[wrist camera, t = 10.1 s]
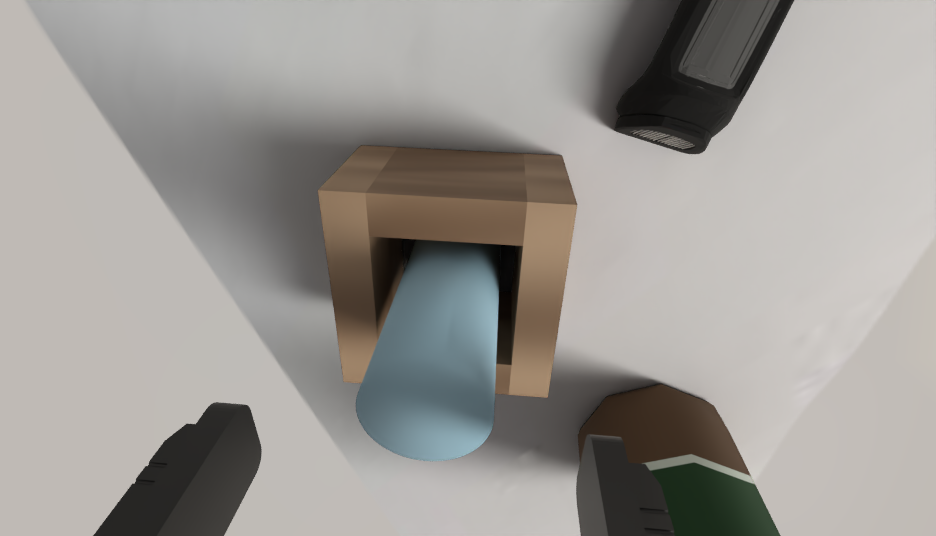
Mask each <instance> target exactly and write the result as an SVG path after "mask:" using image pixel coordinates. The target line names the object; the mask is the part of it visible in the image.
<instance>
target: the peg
mask: <svg viewBox="0 0 936 536" xmlns="http://www.w3.org/2000/svg"><path fill="white" fill-rule="evenodd" d="M500 255H501V245H500V244H484V243H468V242H451V241H435V240H418V239H416V242H415V244H414V247H413V249H412V252H411V255H410V257H409V260H408V263H407V265H406V268H405V271H404V273H403V276H402V278H401V281H400V284H399V286H398V289H397V292H396V294H395V297H394V299H393V302H392V305H391V307H390V310H389V313H388V315H387V318H386V321H385V323H384V326H383V328H382V331H381V334H380V336H379V339H378V342H377V344H376V347H375V350H374V352H373V355H372V357H371V360H370V363H369V365H368V368H367V371H366V373H365V376H364V378H363V381H362V384H361V386H360V389H359V392H358V395H357V399H356V411H357V416H358V418H359V421H360V423H361V425H362V427H363V428H364V430H365V431H366V432H367V433H368V435H369V436H370V437H371V438H372V439H373V440H375V441H376V442H377V443H378V444H380V445H381V446H383V447H384V448H386V449H388V450H390V451H392V452H394V453H396V454H398V455H401V456H404V457H407V458H411V459H416V460H423V461H444V460H451V459H455V458H459V457H462V456H464V455H467V454H469V453H471V452H472V451H474V450H475V449H477V448H478V447H479V446H481V445H482V444H483V443H484V442H485V440H486V439H487V438H488V436H489V434H490V433H491V430H492V427H493V422H494V404H495V379H496V354H497V329H498V304H499V280H500Z"/></svg>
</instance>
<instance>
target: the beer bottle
mask: <svg viewBox="0 0 936 536" xmlns="http://www.w3.org/2000/svg"><path fill="white" fill-rule="evenodd" d="M588 434H591V435H603V436H615V437H621V438H622V440H623V442H624V446H625V450H626V454H627V458H628V462H629V463H639V464H646V466H647V467H648V468H649V470H650V471H651V472H652V474H653V475H654V477H655V478H656V479H657V481H658V482H659V484H660V485H661V487H662V491H663V494H664V497H665V501H666V504H667V508H668V515H670V518H671V521H672V525H673V528H674V535H675V536H780V534H779V532H778V530H777V528H776V526H775V524H774V522H773V520H772V518H771V516H770V514H769V512H768V510H767V508H766V506H765V504H764V502H763V499H762V497H761V495H760V494H759V491H758V489H757V487H756V485H755V483H754V481H753V479H752V477H751V475H750V473H749V471H748V469H747V467H746V465H745V463H744V461H743V459H742V457H741V455H740V453H739V451H738V449H737V447H736V445H735V443H734V441H733V439H732V437H731V435H730V433H729V431H728V429H727V427H726V426H725V424H724V422H723V421H722V419H721V417H720V415H719V414H718V412H717V410H716V409H715V407H714V406H713V405H712V404H710V403H709V402H706V401H704V400H701V399H699V398H696V397H694V396H691V395H688V394H686V393H683V392H681V391H678V390H675V389H673V388H670V387H668V386H665V385H663V384H659V385H654V386H650V387H646V388H641V389H637V390H633V391H628V392H624V393H619V394H615V395H611V396H607V397H606V398H605V399H604V401H603V402H602V403H601V404H600V406H599V407H598V408H597V409H596V411H595V412H594V413H593V414H592V416H591V417H590V418H589V419H588V421H587V422H586V423H585V424H584V426H583V427H582V428H581V429H580V431H579V433H578V443H579V456H580V462H581V457H582V453H583V449H584V444H585V440H586V437H587V435H588Z"/></svg>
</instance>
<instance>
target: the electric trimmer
mask: <svg viewBox="0 0 936 536" xmlns="http://www.w3.org/2000/svg"><path fill="white" fill-rule="evenodd" d="M793 2H794V0H682V1H681V3H680V5H679V8H678V10H677V12H676V14H675V16H674V19H673V21H672V23H671V25H670V27H669V29H668V31H667V33H666V35H665V37H664V39H663V41H662V43H661V45H660V47H659V49H658V51H657V53H656V55H655V57H654V59H653V61H652V62H651V64H650V66H649V67H648V69H647V71H646V72H645V74H644V75H643V76H642V77H641V78H640V79H639V80H638V81H637V82H636V83H635V84H634V85H633V86H631V87H630V88H629V89H628V90H627V91H626V93H625V94H624V95H623V96H622V98H621V99H620V101H619V103H618V105H617V107H616V110H617V112H618V113H619V115H620V118H618V121H617V123H616V126H615V128H614V130H615V131H616V132H619V133H622V134H625V135H628V136H632V137H635V138H638V139H641V140H644V141H647V142H651V143H654V144H657V145H660V146H663V147H666V148H670V149H673V150H676V151H679V152H683V153H687V154H700V153H702V152H703V151H705V149H706V148H707V146H708V144H709V142H710V140H711V138H712V137H713V136H715V135H716V134H717V133H718V132H720V131H721V130H722V129H723V128H724V127H725V126H727V125H728V123H729V122H730V121H731V119H732V117H733V115H734V114H735V112H736V110H737V108H738V106H739V104H740V103H741V101H742V99H743V98H744V96H745V94H746V92H747V91H748V89H749V87H750V85H751V83H752V82H753V80H754V78H755V76H756V74H757V72H758V70H759V68H760V66H761V64H762V62H763V60H764V59H765V57H766V55H767V53H768V51H769V49H770V47H771V45H772V43H773V41H774V39H775V37H776V35H777V33H778V31H779V29H780V27H781V25H782V23H783V21H784V19H785V17H786V15H787V13H788V11H789V9H790V7H791V5H792V4H793Z"/></svg>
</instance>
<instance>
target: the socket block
mask: <svg viewBox="0 0 936 536" xmlns="http://www.w3.org/2000/svg"><path fill="white" fill-rule="evenodd" d="M318 196H319V203H320V211H321V218H322V225H323V233H324V240H325V248H326V255H327V262H328V270H329V277H330V284H331V292H332V299H333V306H334V314H335V321H336V329H337V336H338V343H339V351H340V358H341V365H342V373H343V380H344V382H351V383H362V381H363V378H364V376H365V373H366V371H367V368H368V365H369V363H370V360H371V357H372V355H373V352H374V350H375V347H376V344H377V342H378V339H379V336H380V334H381V331H382V328H383V326H384V323H385V321H386V318H387V315H388V313H389V310H390V307H391V305H392V302H393V299H394V297H395V294H396V292H397V289H398V286H399V284H400V281H401V278H402V276H403V273H404V270H403V247H402V239H418V240H435V241H451V242H468V243H484V244H500V245H516V246H515V258H514V269H513V280H512V292H502V291H499V304H498V329H497V354H496V379H495V394H506V395H519V396H532V397H545V398H548V392H549V385H550V379H551V372H552V366H553V359H554V353H555V346H556V340H557V333H558V327H559V320H560V314H561V307H562V301H563V294H564V288H565V281H566V275H567V268H568V262H569V255H570V249H571V242H572V236H573V229H574V223H575V216H576V210H577V203H576V199H575V196H574V193H573V189H572V186H571V183H570V180H569V176H568V173H567V170H566V167H565V163H564V160H563V157H562V156H561V155H541V154H522V153H502V152H483V151H463V150H443V149H424V148H404V147H384V146H365V145H361V146H360V147H359V148H358V149H357V150H356V151H355V152H354V153H353V154H352V155H351V156H350V157H349V158H348V159H347V160H346V161H345V162H344V163H343V165H342V166H341V167H340V168H339V169H338V170H337V171H336V172H335V173H334V174H333V175H332V176H331V177H330V178H329V179H328V180H327V181H326V182H325V183H324V184H323V185H322V186H321V187H320V188H319V190H318Z"/></svg>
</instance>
